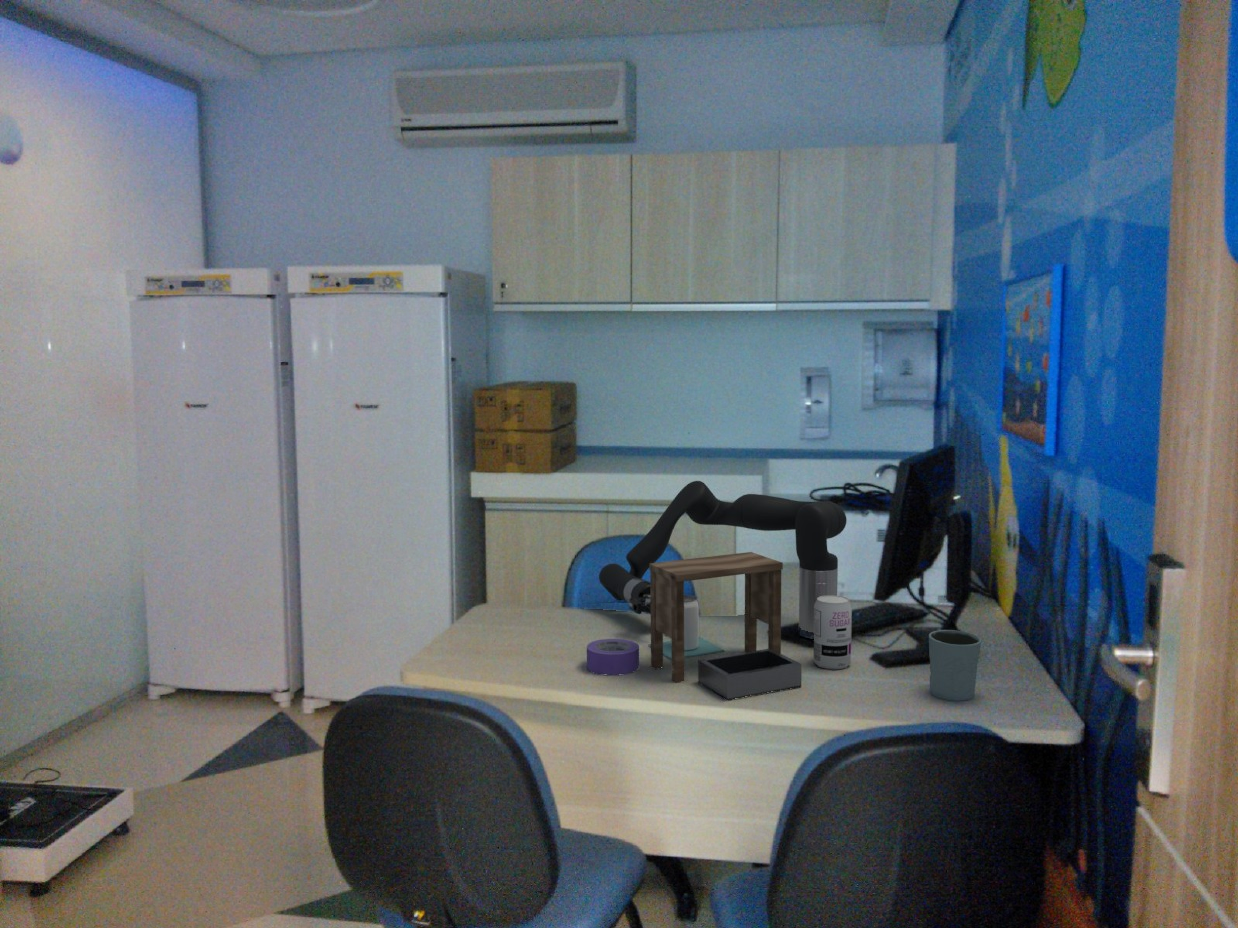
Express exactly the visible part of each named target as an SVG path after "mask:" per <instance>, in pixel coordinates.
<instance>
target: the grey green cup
mask: <svg viewBox="0 0 1238 928" xmlns="http://www.w3.org/2000/svg"><path fill="white" fill-rule="evenodd" d="M981 644H982V640H981V638H980V637H979V636H978V635H976V634H975V633H970V632H968V631H962V630H953V629H951V630H950V629H939V630H934V631H931V632H930V633H929V634H928V647H929V649H928V650H929V652H928V653H929V654H928V655H929V656H928V657H929V670H930V671H929V672H930V674H929V691H930V694H931V695H932V696H934V697H936V698H939V699H942V700H947V701H954V702H956V701H957V702H959V701H960V702H961V701H968V700H972V699H973V698H974V697H975V691H976V683H977V681H976V679H977V674H978V673H977V672H978V663H979V659H980V657H979V656H980V653H981V646H982V645H981Z"/></svg>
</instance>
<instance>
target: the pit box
mask: <svg viewBox="0 0 1238 928" xmlns="http://www.w3.org/2000/svg"><path fill="white" fill-rule="evenodd" d="M697 664H698V665H697V678H698V679H697V681H698V682H697V683H698V684H700V685H701V684H702V686H703V687H704V688H706V689H708V690H709V691H711V692H712V691H713V692H712V693H713V694H716V695H717V696H719V697H720V698H722V699H724V698H725V699H726V700H725V699H724V700H725V701H727V700H728V701H731V700H730V699H734V700H736V699H735V698H739V699H743V698H742V697H744V698H746V697H745V696H750V695H755V696H759V695H758V694H761V695H763V694H762V693H766V694H768V693H767V692H771V691H777V692H781V691H780V690H783V691H787V690H786V689H788V690H791V689H790V688H794V689H798V687H799V688H802V678H803V677H802V671H803V670H802V667H803V666H802V665H803V664H802V663H801V662H798V661H797V660H795V659H792V658H790V657H788V656H786V655H784V654H782V653H781V654H780V653H778V652H776V651H774V650H772V649H770V648H769V649H768V648H764V649H756V651H751V652H745V651H744V652H739V653H733V654H727V655H721V656H715V657H714V656H713V657H710V658H709V657H708V658H703V659H702V658H701V659H697ZM750 697H751V696H750Z"/></svg>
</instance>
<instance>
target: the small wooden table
mask: <svg viewBox="0 0 1238 928" xmlns="http://www.w3.org/2000/svg"><path fill="white" fill-rule="evenodd" d="M783 566H784V564H783V562H782V561H779V560H777V559H774V558H773V559H772V558H770V557H768V556H764V555H761V554H758V553H755V552H752V551H748V552H740V553H730V554H721V555H711V556H702V557H697V558H694V557H693V558H685V559H678V560H677V559H676V560H675V559H674V560H667V561H658V562H657V561H656V562H655V563H649V569H648V570H649V572H650V573H649V574H650V575H649V577H650V580H649V582H650V591H651V614H650V644H651V647H650V667H651V668H653V669H654V668H655V669H654V670H658V669H657V668H659V669H662V668H661V667H663V668H664V655H663V642H664V636H666V637H668V638H670V639H672V660H671V681H673V682H674V681H675V683H676V684H677V682H678V683H682V682H681V681H684V682H685V658H684V595H685V582H690V581H699V580H707V579H713V578H714V579H715V578H723V577H731V576H732V577H733V576H739V575H744V652H751V651H757V650H758V649H757V646H758V645H757V644H758V643H757V637H758V635H757V632H758V631H757V629H758V628H757V626H758V621H757V620H759V621H760V622H762V623H764V624H767V625H768V627H767V628H768V634H767V636H768V639H767V642H768V643H767V649H769V648H770V649H772V650H774V651H776V652H778V653H780V654H782V649H781V648H782V570H783V569H784V567H783Z"/></svg>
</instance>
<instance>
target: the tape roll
mask: <svg viewBox="0 0 1238 928" xmlns="http://www.w3.org/2000/svg"><path fill="white" fill-rule="evenodd" d="M637 669H638V670H639V669H640V645H639V644H638V643H637V642H635V641H632V640H629V639H623V638H603V639H597V640H594V641H591V642H589V643H588V644H587V645H586V670H587V671H589V672H590V671H592V672H591V673H593V672H594V673H593V674H595V673H597V674H596V675H600V674H607V675H606V676H620V675H619V674H624V675H629V674H632V673H634V672H633V671H635V672H637V671H638V670H637ZM628 673H629V674H628Z"/></svg>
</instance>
